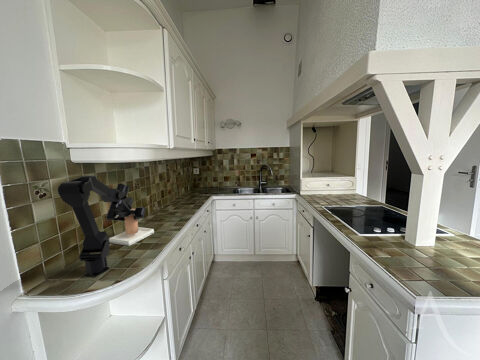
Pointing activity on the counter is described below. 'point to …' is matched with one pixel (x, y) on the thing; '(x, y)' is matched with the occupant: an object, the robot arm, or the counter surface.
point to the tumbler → (131, 224)
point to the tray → (131, 237)
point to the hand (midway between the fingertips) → (132, 220)
